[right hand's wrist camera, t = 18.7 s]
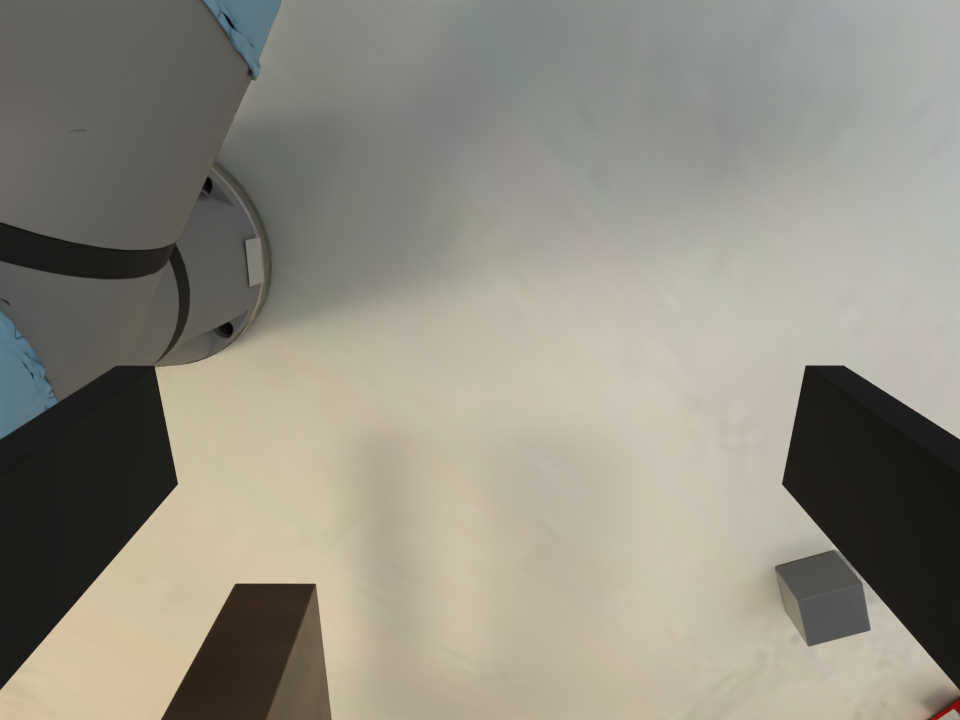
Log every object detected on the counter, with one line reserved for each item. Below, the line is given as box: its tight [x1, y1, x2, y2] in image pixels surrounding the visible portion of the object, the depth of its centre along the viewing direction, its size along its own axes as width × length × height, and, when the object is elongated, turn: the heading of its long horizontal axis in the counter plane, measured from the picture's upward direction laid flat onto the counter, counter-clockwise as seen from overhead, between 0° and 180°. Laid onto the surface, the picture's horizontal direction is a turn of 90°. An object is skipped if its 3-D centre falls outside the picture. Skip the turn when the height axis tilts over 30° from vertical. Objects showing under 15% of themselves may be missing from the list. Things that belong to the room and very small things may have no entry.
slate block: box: [775, 551, 871, 646], centre depth 50 cm, size 5×5×4 cm
